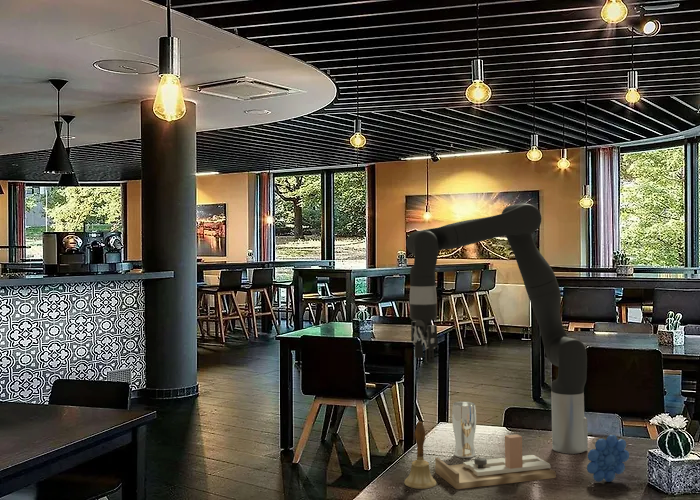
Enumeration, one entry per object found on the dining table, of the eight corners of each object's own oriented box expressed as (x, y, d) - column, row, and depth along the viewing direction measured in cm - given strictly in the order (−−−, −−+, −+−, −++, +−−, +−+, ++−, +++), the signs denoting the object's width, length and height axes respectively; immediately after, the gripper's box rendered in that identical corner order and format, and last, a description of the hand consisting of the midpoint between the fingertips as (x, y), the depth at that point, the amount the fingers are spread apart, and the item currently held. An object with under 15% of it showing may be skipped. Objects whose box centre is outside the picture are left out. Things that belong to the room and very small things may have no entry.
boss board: (528, 462, 197) (528, 446, 197) (555, 477, 184) (555, 460, 183) (435, 472, 190) (435, 455, 190) (456, 489, 176) (456, 471, 176)
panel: (533, 458, 195) (532, 425, 195) (550, 468, 186) (549, 434, 186) (463, 465, 189) (462, 432, 189) (477, 476, 180) (477, 441, 180)
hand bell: (438, 479, 184) (437, 418, 184) (434, 490, 176) (433, 426, 176) (406, 477, 186) (405, 417, 186) (401, 488, 178) (400, 425, 178)
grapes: (619, 474, 185) (619, 429, 185) (634, 483, 178) (633, 435, 178) (579, 478, 183) (578, 432, 183) (592, 486, 176) (591, 439, 176)
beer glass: (476, 459, 201) (475, 406, 201) (452, 458, 202) (451, 406, 202) (477, 452, 208) (476, 401, 208) (453, 451, 209) (452, 400, 209)
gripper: (445, 303, 190) (446, 363, 190) (426, 300, 204) (427, 355, 204) (419, 304, 188) (420, 365, 188) (402, 301, 202) (403, 357, 202)
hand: (424, 360), depth 196 cm, fingers open, 8 cm apart
